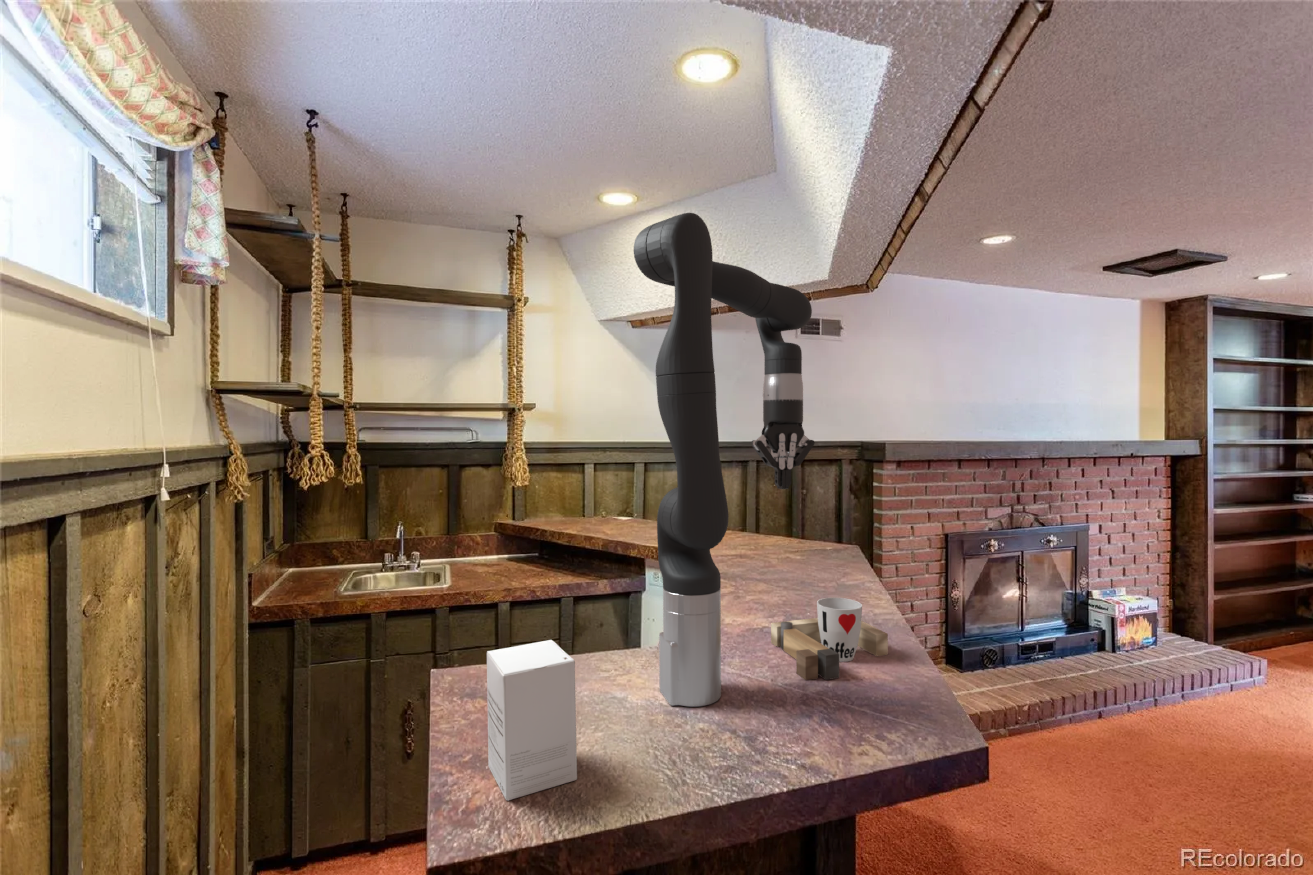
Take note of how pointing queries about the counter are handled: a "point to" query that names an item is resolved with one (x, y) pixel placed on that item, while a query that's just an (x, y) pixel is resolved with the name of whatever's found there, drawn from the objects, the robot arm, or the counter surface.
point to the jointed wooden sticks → (807, 659)
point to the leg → (800, 641)
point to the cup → (840, 625)
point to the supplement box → (531, 718)
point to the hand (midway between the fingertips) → (783, 488)
